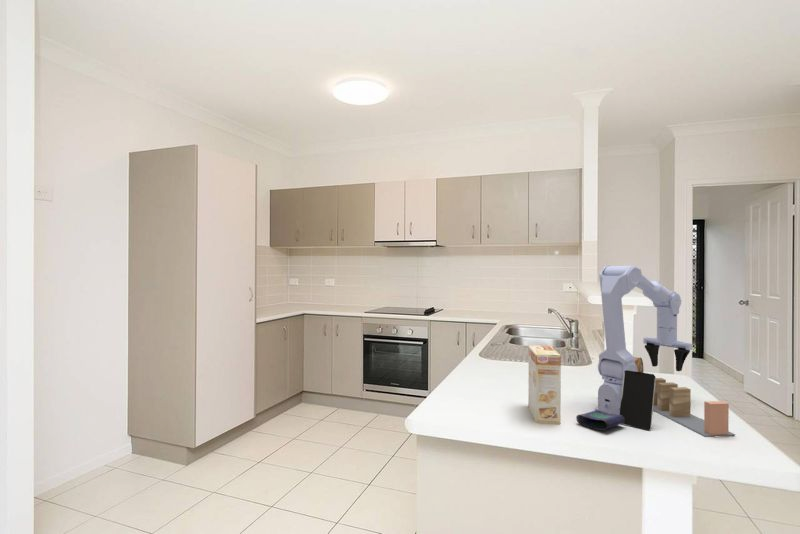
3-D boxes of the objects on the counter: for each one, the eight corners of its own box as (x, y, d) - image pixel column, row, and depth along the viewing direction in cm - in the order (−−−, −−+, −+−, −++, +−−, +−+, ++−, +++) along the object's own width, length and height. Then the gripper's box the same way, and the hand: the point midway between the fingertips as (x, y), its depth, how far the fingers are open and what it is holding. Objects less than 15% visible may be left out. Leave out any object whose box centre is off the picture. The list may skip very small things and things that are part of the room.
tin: (634, 385, 160) (634, 362, 160) (625, 383, 162) (625, 361, 162) (644, 377, 171) (644, 356, 171) (635, 376, 173) (635, 355, 173)
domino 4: (728, 434, 112) (728, 403, 112) (710, 434, 112) (710, 404, 112) (722, 431, 114) (722, 401, 114) (704, 431, 114) (704, 401, 114)
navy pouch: (575, 413, 120) (597, 408, 126) (576, 424, 120) (598, 418, 126) (607, 420, 112) (629, 414, 118) (607, 432, 112) (629, 425, 118)
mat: (735, 436, 112) (735, 434, 112) (704, 437, 112) (704, 435, 112) (650, 396, 146) (650, 395, 146) (626, 397, 145) (626, 396, 145)
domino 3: (690, 416, 125) (690, 389, 125) (674, 417, 125) (674, 389, 125) (685, 414, 127) (685, 387, 127) (669, 414, 127) (669, 387, 127)
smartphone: (617, 423, 120) (623, 369, 125) (619, 423, 121) (624, 370, 125) (650, 430, 115) (655, 374, 119) (651, 431, 116) (656, 375, 120)
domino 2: (677, 410, 131) (677, 384, 131) (661, 411, 130) (661, 384, 130) (672, 408, 133) (673, 382, 133) (657, 408, 132) (657, 382, 132)
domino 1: (665, 405, 136) (665, 379, 136) (650, 405, 135) (650, 380, 135) (661, 403, 138) (661, 378, 138) (646, 403, 137) (646, 378, 137)
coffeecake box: (561, 425, 120) (561, 355, 120) (534, 424, 121) (534, 354, 121) (551, 408, 134) (551, 345, 134) (527, 406, 136) (527, 344, 135)
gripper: (697, 329, 139) (696, 371, 139) (651, 324, 152) (651, 362, 152) (685, 330, 136) (685, 374, 136) (639, 325, 148) (639, 365, 148)
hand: (666, 368), depth 143 cm, fingers open, 7 cm apart
